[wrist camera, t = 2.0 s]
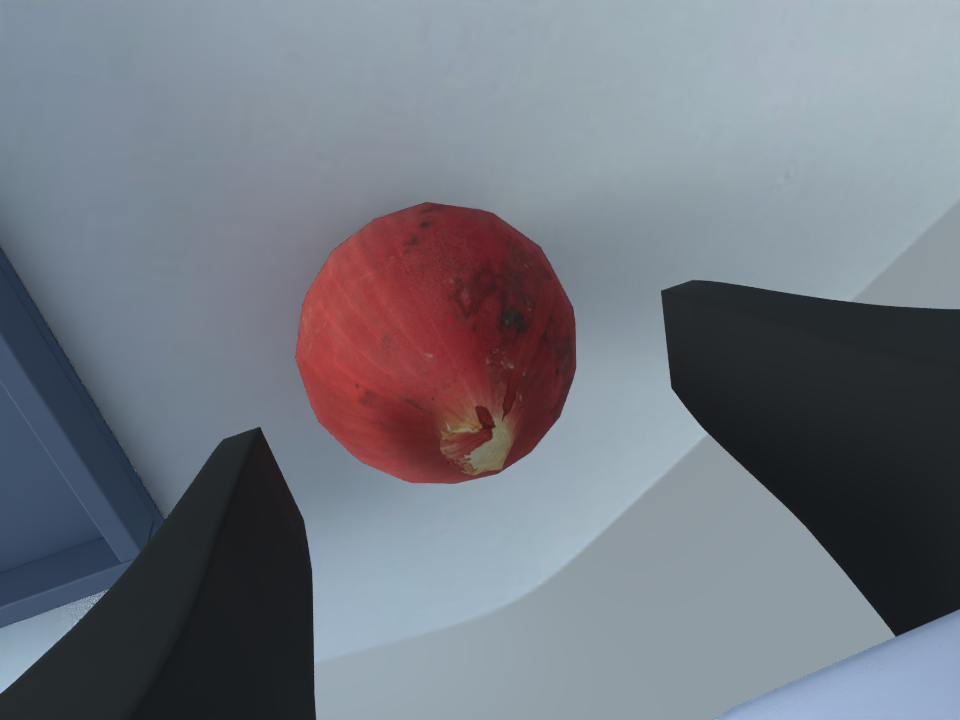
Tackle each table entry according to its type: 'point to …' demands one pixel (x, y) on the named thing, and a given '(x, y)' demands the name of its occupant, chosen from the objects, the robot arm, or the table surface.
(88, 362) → the table surface
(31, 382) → the tray
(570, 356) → the red pomegranate
